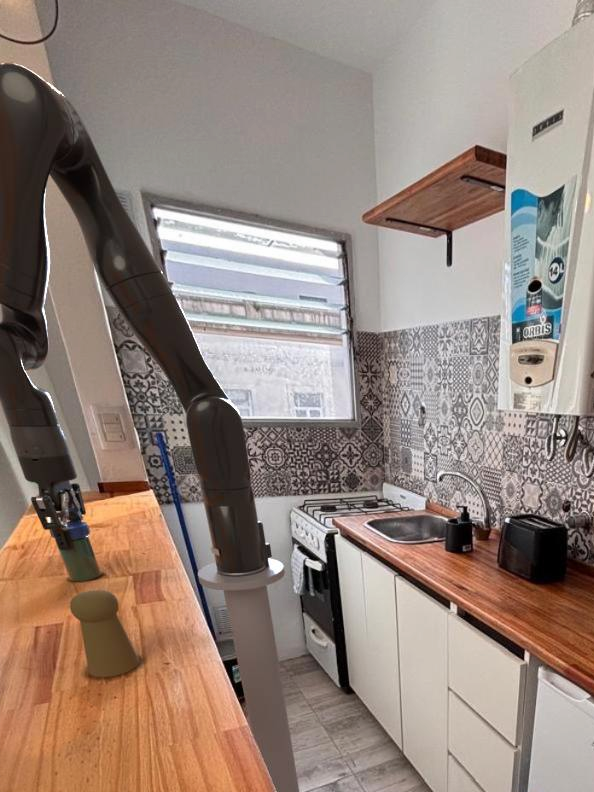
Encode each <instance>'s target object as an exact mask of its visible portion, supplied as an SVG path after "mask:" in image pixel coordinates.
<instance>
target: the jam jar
mask: <svg viewBox="0 0 594 792" xmlns="http://www.w3.org/2000/svg"><path fill="white" fill-rule="evenodd" d="M89 536H90V535H89V534H88V535H86V536H83V537H79V538H73V539H72V542H73V545H74V548H73V549H72V550H60V549H59V548H58V545H57V542H56V539H55V538H54V542H55V545H56V546H57V547H56V548H57V549H58V552H59V554H60V557H61V560H62V563H63V565H64V567H65V570H66V573H67V575H68V578H69V581H72V582H86V581H91V580H94V579H98V578H99V577H101V576H102V572H101V571H102V570H101V569H100V568H101V567H100V566H99V562H98V559H97V557H96V554H95V551H94V548H93V545H92V543H91V540H90V537H89Z"/></svg>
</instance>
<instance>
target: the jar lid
mask: <svg viewBox="0 0 594 792" xmlns="http://www.w3.org/2000/svg"><path fill="white" fill-rule="evenodd" d="M81 521H82V520H81ZM81 521H71V522H68V521H67V530H69V533H70V536H71V539H73V538H79V537H83V536H86V535H88V536H89V535H90V533H91V530H90V527H89V525H88V523H87V522H86V521H82V522H81ZM48 531H49V533H50V536H51V538H53V539H55V536H54V533H53V531H51V530H48Z"/></svg>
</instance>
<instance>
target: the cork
mask: <svg viewBox="0 0 594 792" xmlns="http://www.w3.org/2000/svg"><path fill="white" fill-rule="evenodd" d="M119 605H120V603H119V600H118V598H117V597H116V596H115V595H114V593H112V592H111V591H108V590H104V589H95V590H88V591H84V592H81V593H78V594H76V595H74V596H73V597H72V598H71V600H70V602H69V609H70V612H71V614H72V615H73V617H74V618H75V619H77V620H78V621H79V622H80V628H81V629H80V630H81V634H82V640H83V648H84V653H85V659H86V665H87V671H88V674H89V675H90V676H92V677H94V678H110V677H114V676H115V677H116V676H120V675H122V674H126V673H128V672H130V671H133V670H135V668H136V667H138V666H139V664H140V658H139V656H138V654H137V652H136V650H135V648H134V646H133V644H132V642H131V639H130V638H129V636H128V634H127V632H126V630H125V628H124V626H123V623H122V622H121V619H120V617H119V615H118V612H119V608H120V607H119Z"/></svg>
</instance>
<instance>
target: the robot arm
mask: <svg viewBox="0 0 594 792" xmlns="http://www.w3.org/2000/svg"><path fill="white" fill-rule="evenodd" d="M49 177H50V178H51V179H52V181H53V182H54V184H55V185H56V187H57V188H58V190H59V191H60V193H61V195H62V197H64V199H65V201H66V202H67V204H68V206H69V207H70V209H71V211H72V213H73V215H74V217H75V218H76V221H77V223H78V226H79V228H80V230H81V233H82V237H83V238H84V242H85V245H86V248H87V251H88V254H89V256H90V260H91V262H92V264H93V268H94V271H95V272H96V275H97V277H98V279H99V281H100V283H101V285H102V286H103V288H104V290H105V291H106V293H107V295H108V297H109V299H110V300H111V301H112V303H113V305H114V306H115V308H116V310H117V311H118V313H119V315H120V316H121V318H122V319H123V321H124V323H126V325H127V327H128V328H129V329H130V331H131V332H132V333H133V335H134V336H135V338H136V339H137V340H138V342H139V343H140V345H142V347H143V349H145V351H146V352H147V353H148V355H149V356H150V357H151V358H152V359H153V361H154V362H155V363H156V364H157V365H158V366H159V368H160V369H161V371H162V372H163V374H164V375H165V377H166V378H167V380H168V382H169V383H170V385H171V387H172V389H173V390H174V393H175V394H176V396H177V398H178V400H179V403H180V405H181V406H182V408H183V411H184V414H185V423H186V430H187V435H188V439H189V444H190V449H191V454H192V459H193V463H194V467H195V472H196V475H197V478H198V481H199V486H200V490H201V491H200V492H201V496H202V502H203V506H204V510H205V515H206V519H207V520H206V521H207V526H208V530H209V535H210V541H211V546H210V549H211V550H210V551H211V553H212V554H213V556H214V560H215V561H214V562H216V566H217V572H218V573H219V574H220V575H224V576H230V577H239V576H248V575H253V574H257V573H259V572H262V571H263V570H265V568H266V567H269V561H268V558H270V559H271V558H272V557H273V555H272V549H271V548H272V547H271V544H270V543H268V542H266V535H265V531H264V524H263V522H262V521H259V519H258V518H259V517H258V512H257V506H256V499H255V493H254V487H253V481H252V472H251V466H250V460H249V453H248V447H247V441H246V434H245V428H244V423H243V418H242V416H241V414H240V412H239V410H238V408H237V407H236V406H235V404H234V403H233V402H232V401H231V399H230V397H229V396H228V395H227V394H226V392H225V391H224V389H223V388H222V385H220V383H219V382H218V380H217V378H216V377H215V375H214V374H213V373H212V371H211V369H210V368H209V366H208V364H207V362H206V360H205V358H204V356H203V354H202V352H201V349H200V347H199V344H198V342H197V340H196V338H195V335H194V332H193V330H192V327H191V326H190V323H189V321H188V319H187V317H186V315H185V313H184V310H183V309H182V307H181V305H180V302H179V299H177V297H176V295H175V293H174V291H173V289H172V287H171V286H170V284H169V282H168V280H167V278H166V276H165V275H164V274H165V273H163V271H162V269H161V268H160V266H159V264H158V262H157V261H156V259H155V257H154V255H153V254H152V252H151V251H150V249H149V247H148V245H147V243H146V242H145V240H144V238H143V237H142V235H141V233H140V231H139V230H138V228H137V226H136V225H135V223H134V221H133V220H132V218H131V216H130V215H129V213H128V211H127V210H126V209H125V206H124V205H123V203H122V201H121V199H120V198H119V195H118V193H117V191H116V189H115V188H114V185H113V184H112V182H111V179H110V176H109V174H108V173H107V171H106V168H105V166H104V164H103V162H102V160H101V157H100V155H99V153H98V151H97V148H96V146H95V144H94V142H93V140H92V138H91V134H90V133H89V131H88V129H87V127H86V125H85V122H84V120H83V119H82V117H81V115H80V113H79V112H78V111H77V109H76V108H75V106H74V105H73V104H72V103H71V101H70V100H69V99H68V98H67V97H66V96H65V95H64V94H63V93H62V92H61V91H59V90H58V89H57V88H56V87H54V86H53V85H52V84H50V83H49V82H48V81H46V80H45V79H43V78H42V77H41V76H39V75H38V74H37V73H35V72H34V71H32V70H31V69H29V68H27V67H25V66H23V65H21V64H17V63H13V62H4V63H0V308H1V320H0V406H1V408H2V411H3V414H4V417H5V420H6V423H7V425H8V429H9V435H10V439H11V443H12V446H13V449H14V451H15V454H16V457H17V460H18V463H19V466H20V468H21V471H22V473H23V477H24V479H25V480H26V481H27V482H29V483H34V484H36V485H37V488H38V494H39V495H38V496H31V497H30V501H31V503H32V506H33V508H34V510H35V513H36V515H37V517H38V520H39V522H40V524H41V527H42V528H43V530H44V531H49V530H51V531H53V533H54V536H55V538H54V540H55V539H56V542H57V544H56V546H57V545H58V547H57V549H58V548H59V549H60V550H72V549H73V548H74V545H73V542H72V539H71V536H70V533H69V530H67V522H71V521H81V522H83V520H84V516H86V515H87V511H86V507H85V503H84V498H83V494H82V490H81V486H80V484H79V483H78V482H72V483H71V482H70V481H74V480H76V479H77V478H78V474H77V470H76V468H75V464H74V460H73V457H72V455H71V451H70V448H69V445H68V441H67V438H66V436H65V434H64V431H63V429H62V427H61V425H60V422H59V418H58V414H57V411H56V409H55V405H54V403H53V402H54V401H53V399H52V397H51V395H50V394H49V392H48V391H47V390H45V389H43V388H41V387H38V386H35V385H34V384H33V382H32V381H31V378H30V377H29V376H28V373H27V372H26V371H35V370H38V369H40V368H42V366H43V365H44V364H45V362H46V361H47V358H48V355H49V348H50V347H49V336H48V334H49V333H48V326H47V319H46V318H47V317H46V314H45V304H46V298H47V291H48V285H49V277H50V269H51V268H50V267H51V256H50V255H51V254H50V245H49V238H48V233H47V231H48V230H47V224H46V223H47V222H46V212H45V211H46V208H45V205H46V192H47V191H46V190H47V186H48V185H47V184H48V180H49ZM56 542H55V543H56ZM59 549H58V550H59Z"/></svg>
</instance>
